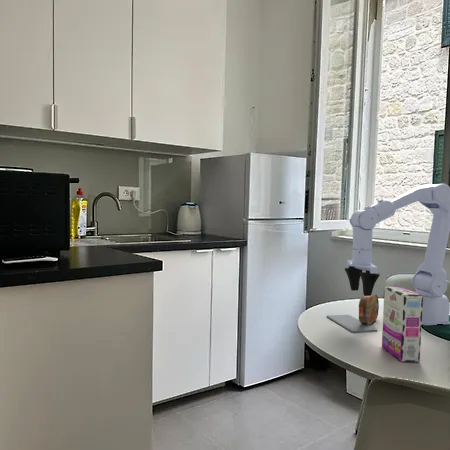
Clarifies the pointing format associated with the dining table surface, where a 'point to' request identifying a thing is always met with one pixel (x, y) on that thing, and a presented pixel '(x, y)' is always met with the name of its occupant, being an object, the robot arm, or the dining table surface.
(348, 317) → the pad
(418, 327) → the candy bar box
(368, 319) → the tin
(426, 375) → the dining table surface
